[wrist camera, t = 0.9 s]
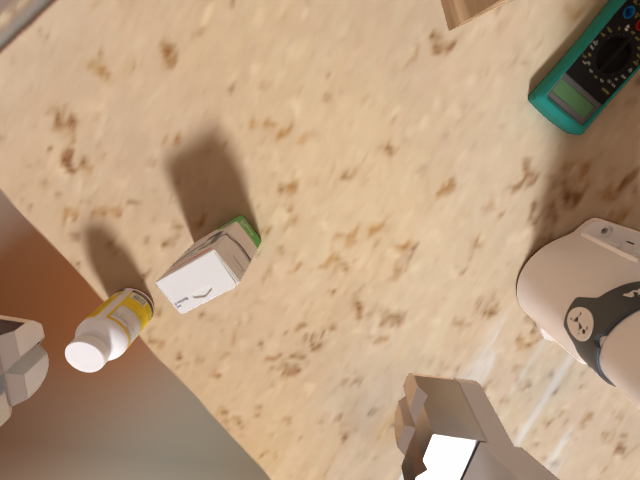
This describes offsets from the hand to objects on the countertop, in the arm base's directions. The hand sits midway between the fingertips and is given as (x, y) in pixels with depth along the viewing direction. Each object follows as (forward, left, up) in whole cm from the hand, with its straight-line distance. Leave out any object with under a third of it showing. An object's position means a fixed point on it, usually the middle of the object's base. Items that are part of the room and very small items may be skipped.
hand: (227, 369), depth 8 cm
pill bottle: (+25, +26, -38) cm, 52 cm away
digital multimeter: (-30, -13, -39) cm, 51 cm away
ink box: (+11, +14, -38) cm, 42 cm away
